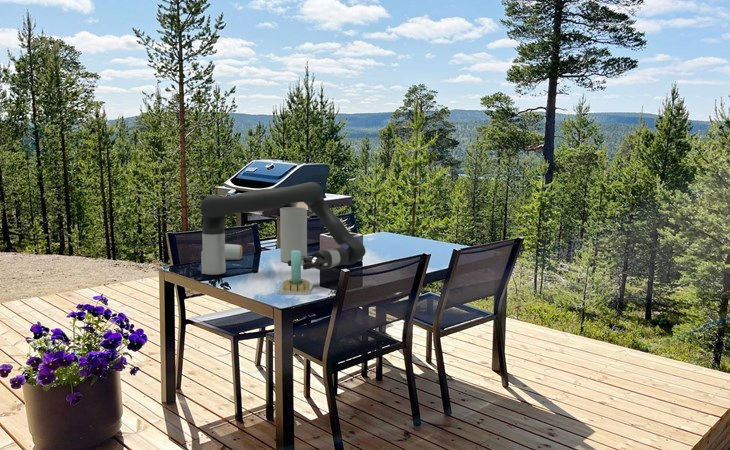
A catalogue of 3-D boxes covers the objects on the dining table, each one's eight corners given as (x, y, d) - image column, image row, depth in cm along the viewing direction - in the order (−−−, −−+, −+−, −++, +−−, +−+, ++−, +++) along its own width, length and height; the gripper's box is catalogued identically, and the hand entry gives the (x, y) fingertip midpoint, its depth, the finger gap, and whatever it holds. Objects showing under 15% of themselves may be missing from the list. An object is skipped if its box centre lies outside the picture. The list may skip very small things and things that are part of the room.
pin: (290, 288, 207) (290, 251, 205) (292, 285, 210) (292, 250, 208) (300, 288, 207) (300, 252, 205) (301, 286, 210) (301, 250, 208)
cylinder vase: (291, 256, 270) (291, 206, 266) (312, 259, 263) (312, 208, 260) (275, 261, 259) (274, 209, 255) (296, 264, 253) (296, 211, 249)
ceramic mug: (241, 261, 258) (241, 245, 257) (223, 261, 257) (223, 245, 256) (243, 257, 268) (243, 241, 267) (226, 257, 267) (225, 241, 266)
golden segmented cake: (277, 293, 202) (277, 286, 202) (283, 285, 215) (283, 277, 215) (309, 294, 202) (309, 286, 202) (313, 285, 215) (313, 278, 214)
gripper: (314, 247, 223) (283, 253, 211) (339, 252, 214) (308, 258, 202) (314, 265, 224) (283, 271, 212) (339, 270, 215) (308, 278, 203)
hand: (296, 265), depth 207 cm, fingers open, 8 cm apart
